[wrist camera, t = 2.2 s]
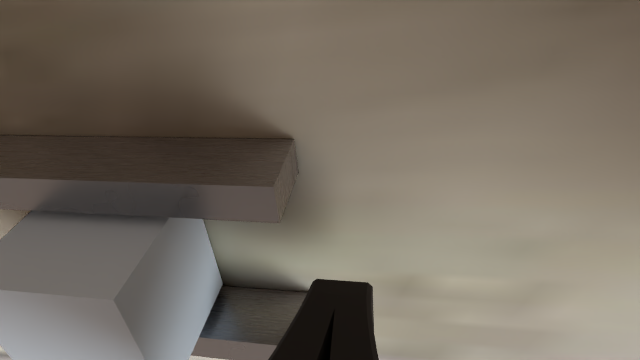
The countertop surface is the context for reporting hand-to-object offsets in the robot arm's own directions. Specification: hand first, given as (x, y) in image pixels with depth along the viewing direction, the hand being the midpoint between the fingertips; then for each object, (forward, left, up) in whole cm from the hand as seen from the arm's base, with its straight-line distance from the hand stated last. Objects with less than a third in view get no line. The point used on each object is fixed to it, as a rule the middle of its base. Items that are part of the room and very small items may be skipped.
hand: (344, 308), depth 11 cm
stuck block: (+6, -1, -2) cm, 7 cm away
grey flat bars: (+6, -1, -2) cm, 7 cm away
